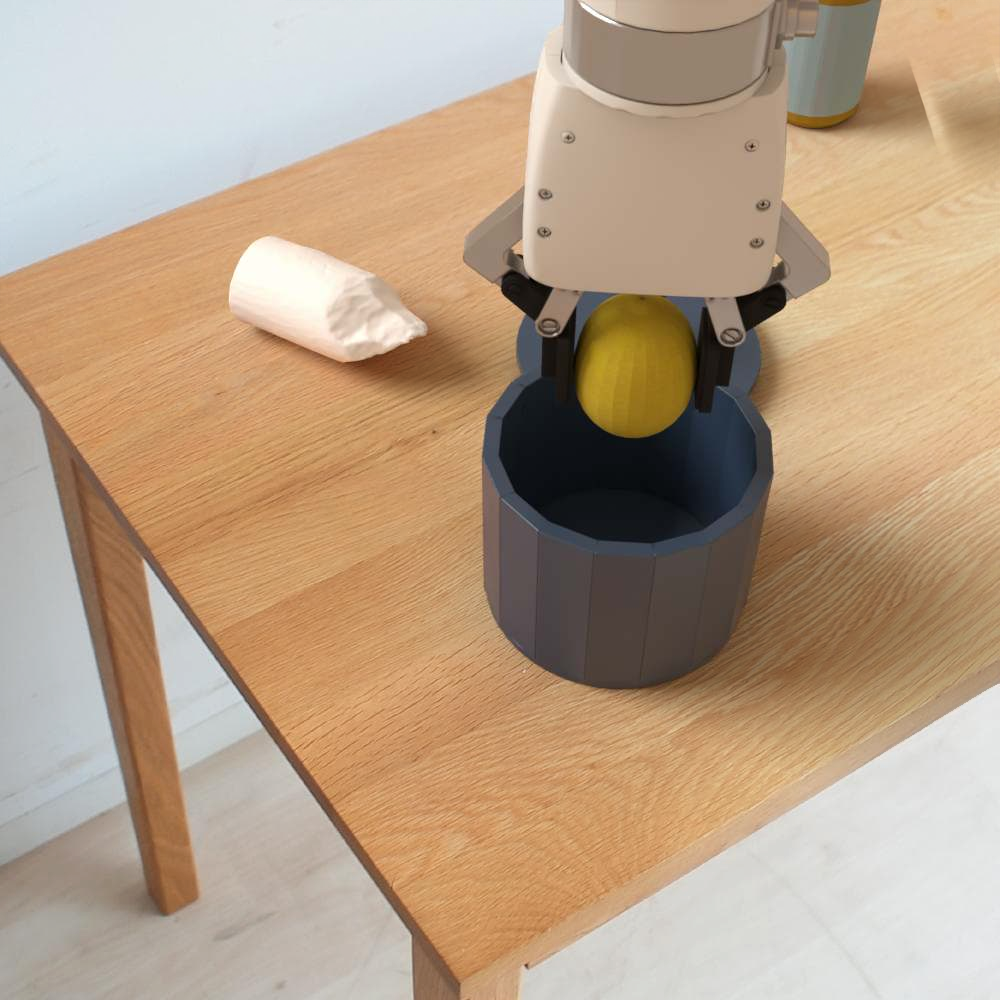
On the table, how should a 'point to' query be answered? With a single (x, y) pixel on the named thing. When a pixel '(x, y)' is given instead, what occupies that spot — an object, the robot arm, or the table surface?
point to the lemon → (635, 365)
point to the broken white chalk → (319, 301)
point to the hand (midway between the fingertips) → (633, 384)
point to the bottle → (831, 63)
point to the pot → (620, 533)
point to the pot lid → (691, 307)
